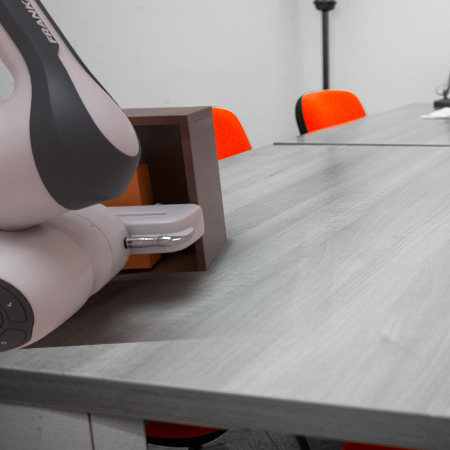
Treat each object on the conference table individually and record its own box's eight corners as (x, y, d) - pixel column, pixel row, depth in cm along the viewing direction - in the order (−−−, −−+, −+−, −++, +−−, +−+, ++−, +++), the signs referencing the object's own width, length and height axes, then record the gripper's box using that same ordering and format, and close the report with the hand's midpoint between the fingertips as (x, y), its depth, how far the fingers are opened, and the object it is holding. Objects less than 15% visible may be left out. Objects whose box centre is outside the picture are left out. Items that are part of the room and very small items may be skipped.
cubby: (53, 290, 68) (17, 119, 62) (95, 256, 79) (69, 110, 73) (208, 282, 69) (187, 114, 63) (228, 250, 80) (211, 106, 75)
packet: (107, 270, 68) (90, 171, 65) (120, 258, 72) (105, 164, 68) (151, 268, 68) (136, 169, 65) (161, 257, 72) (147, 163, 69)
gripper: (182, 211, 56) (214, 181, 69) (-38, 219, 54) (37, 187, 67) (190, 271, 58) (220, 231, 71) (-23, 281, 56) (48, 238, 69)
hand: (129, 210), depth 69 cm, fingers closed on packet, 5 cm apart
